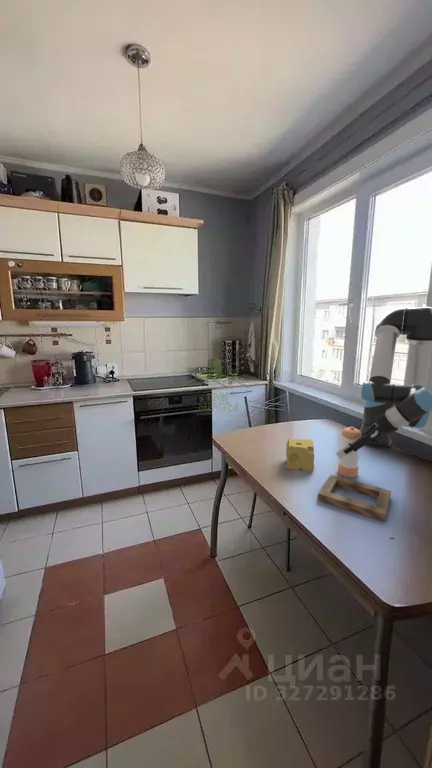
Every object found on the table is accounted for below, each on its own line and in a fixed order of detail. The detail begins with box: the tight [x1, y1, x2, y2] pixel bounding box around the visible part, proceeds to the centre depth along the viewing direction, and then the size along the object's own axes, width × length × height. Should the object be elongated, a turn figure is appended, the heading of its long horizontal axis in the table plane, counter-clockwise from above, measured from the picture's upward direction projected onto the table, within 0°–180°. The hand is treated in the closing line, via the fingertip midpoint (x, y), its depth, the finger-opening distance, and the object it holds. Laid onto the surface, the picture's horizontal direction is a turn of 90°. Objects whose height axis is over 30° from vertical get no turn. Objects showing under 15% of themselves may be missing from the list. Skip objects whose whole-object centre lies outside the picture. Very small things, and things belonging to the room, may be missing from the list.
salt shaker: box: [337, 426, 362, 478], centre depth 122 cm, size 7×7×19 cm
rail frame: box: [317, 474, 392, 523], centre depth 106 cm, size 20×16×2 cm
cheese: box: [285, 437, 315, 473], centre depth 129 cm, size 10×11×10 cm
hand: (341, 451), depth 124 cm, fingers open, 10 cm apart
